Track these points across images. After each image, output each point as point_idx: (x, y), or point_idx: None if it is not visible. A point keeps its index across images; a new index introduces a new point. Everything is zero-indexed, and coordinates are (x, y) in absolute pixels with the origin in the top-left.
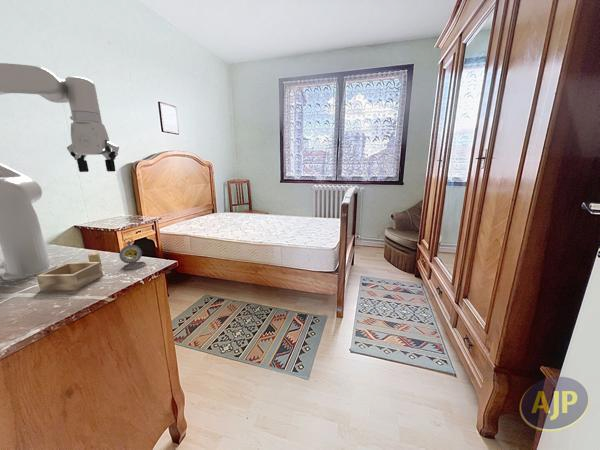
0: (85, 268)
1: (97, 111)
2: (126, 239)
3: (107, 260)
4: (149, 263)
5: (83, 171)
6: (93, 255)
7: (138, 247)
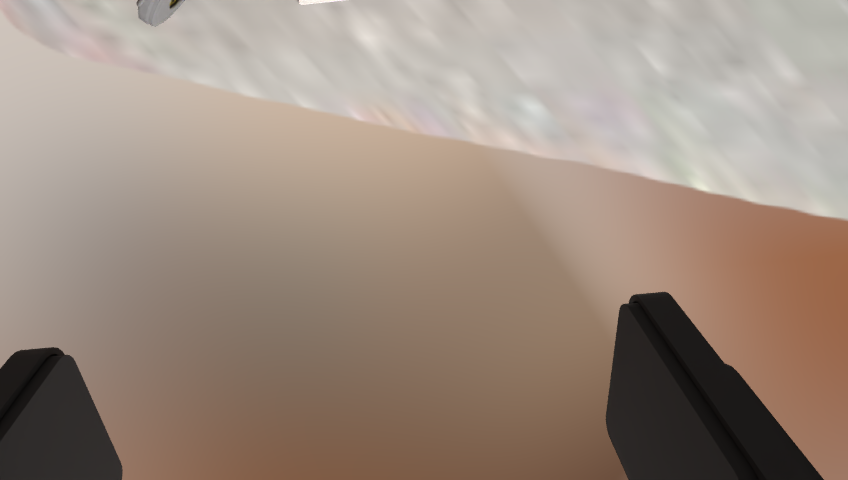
0: None
1: None
2: None
3: (413, 33)
4: (125, 2)
5: (618, 336)
6: None
7: (139, 12)
